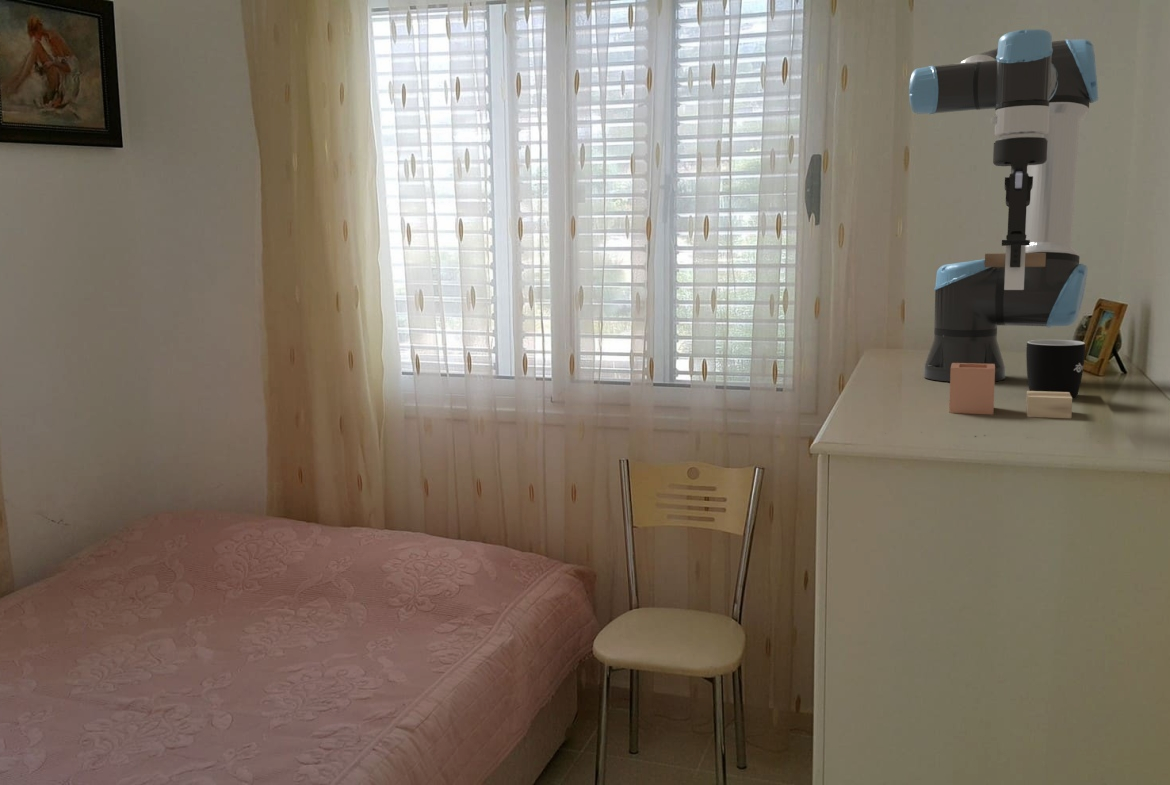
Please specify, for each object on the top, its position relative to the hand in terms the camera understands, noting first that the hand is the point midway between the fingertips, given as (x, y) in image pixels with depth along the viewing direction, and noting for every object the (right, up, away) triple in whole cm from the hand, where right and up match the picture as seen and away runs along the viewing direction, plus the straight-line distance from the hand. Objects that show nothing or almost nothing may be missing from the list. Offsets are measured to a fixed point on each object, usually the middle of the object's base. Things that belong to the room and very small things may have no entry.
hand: (1014, 288), depth 156 cm
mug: (+14, -18, +17) cm, 28 cm away
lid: (0, +3, 0) cm, 3 cm away
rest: (+5, -20, -1) cm, 21 cm away
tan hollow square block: (-5, -20, +4) cm, 21 cm away
